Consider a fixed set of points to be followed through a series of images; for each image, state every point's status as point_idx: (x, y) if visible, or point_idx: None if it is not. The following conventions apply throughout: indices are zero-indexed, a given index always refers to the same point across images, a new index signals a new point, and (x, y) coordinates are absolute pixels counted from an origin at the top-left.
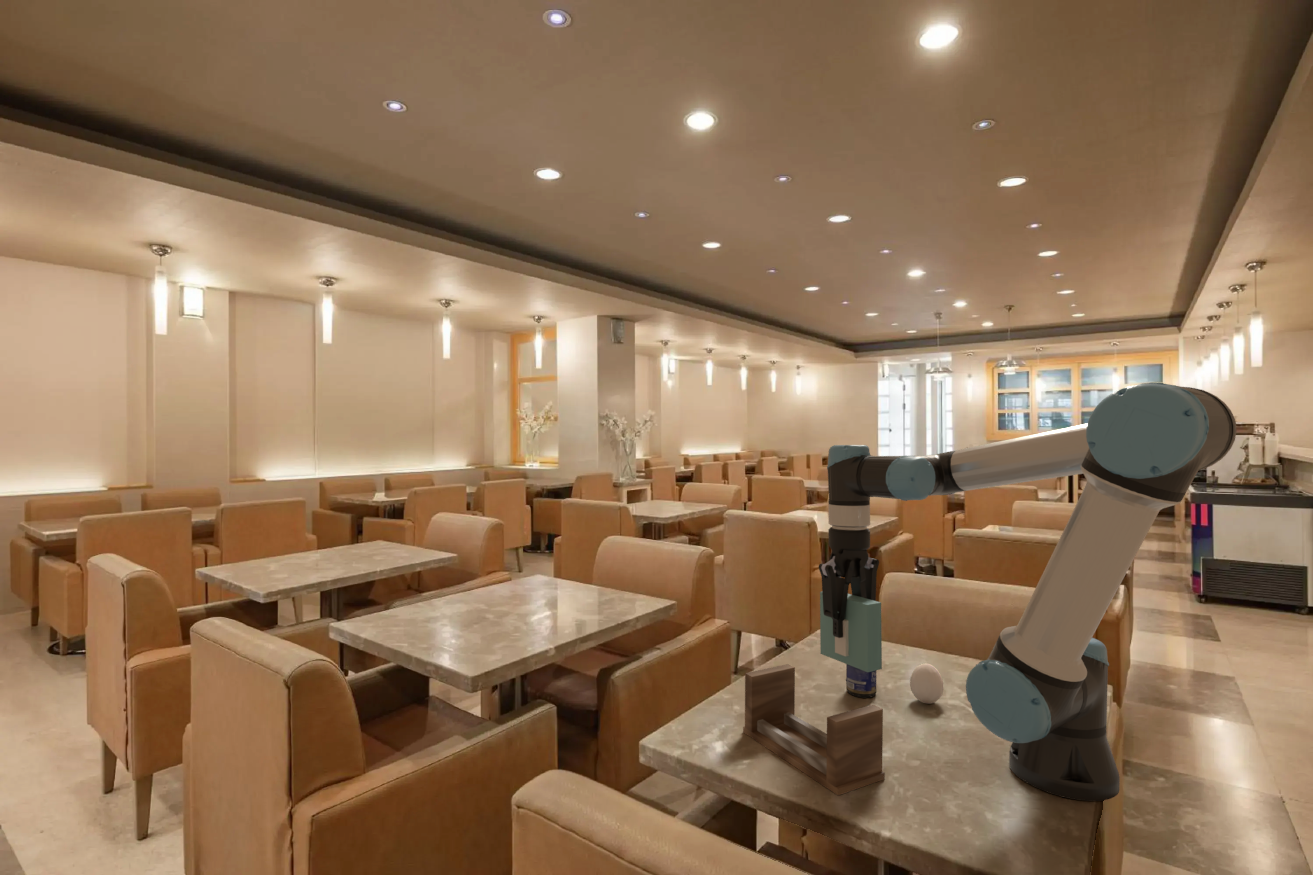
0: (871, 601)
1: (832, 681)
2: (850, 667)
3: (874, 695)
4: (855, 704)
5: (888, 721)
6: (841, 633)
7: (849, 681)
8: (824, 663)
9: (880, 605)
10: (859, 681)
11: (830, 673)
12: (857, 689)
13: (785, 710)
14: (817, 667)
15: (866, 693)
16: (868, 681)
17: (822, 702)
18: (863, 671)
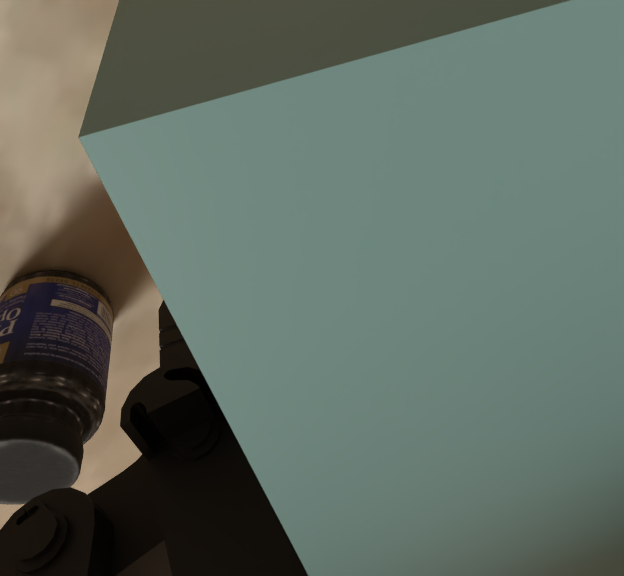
0: (572, 477)
1: (127, 384)
2: (102, 364)
3: (16, 279)
4: (123, 229)
5: (44, 62)
6: None
7: (108, 329)
8: (98, 481)
9: (196, 21)
10: (77, 311)
11: (108, 429)
12: (88, 294)
13: None
14: (132, 459)
15: (55, 277)
16: (38, 305)
17: None
18: (54, 334)
